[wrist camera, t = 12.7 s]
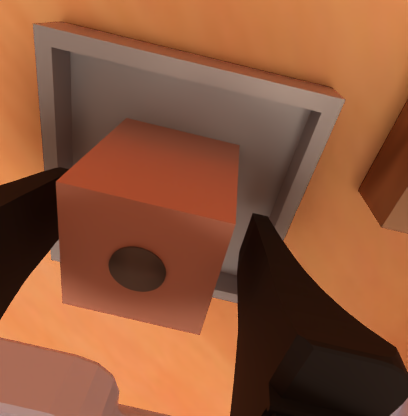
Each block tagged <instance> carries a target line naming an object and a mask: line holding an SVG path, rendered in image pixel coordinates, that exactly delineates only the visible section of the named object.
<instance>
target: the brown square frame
mask: <svg viewBox="0 0 408 416" xmlns="http://www.w3.org/2000/svg"><path fill="white" fill-rule="evenodd" d="M358 191H359V192H360V194H361V195H362V197H363V199H364V200H365V202H366V203H367V205H368V207H369V208H370V210H371V212H372V213H373V215H374V216H375V218H376V220H377V221H378V223H379V224H380V226H381V227H382V228H386V229H390V230H394V231H398V232H403V233H407V234H408V100H407V102H406V104H405V106H404V108H403V110H402V111H401V113H400V115H399V117H398V119H397V121H396V122H395V124H394V126H393V128H392V130H391V132H390V133H389V135H388V137H387V139H386V141H385V143H384V144H383V146H382V148H381V150H380V152H379V153H378V155H377V157H376V159H375V161H374V163H373V164H372V166H371V168H370V170H369V172H368V174H367V175H366V177H365V179H364V181H363V183H362V185H361V186H360V188H359V190H358Z"/></svg>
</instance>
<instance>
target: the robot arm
mask: <svg viewBox="0 0 408 416" xmlns="http://www.w3.org/2000/svg"><path fill="white" fill-rule="evenodd" d="M68 170H69V169H66V168H62V167H57V168H53V169H50V170H46V171H43V172H40V173H37V174H34V175H31V176H28V177H25V178H22V179H19V180H16V181H13V182H10V183H6V184H3V185H0V319H1V318H2V316H3V314H4V313H5V311H6V309H7V308H8V306H9V305H10V303H11V301H12V300H13V298H14V297H15V295H16V294H17V292H18V291H19V289H20V288H21V286H22V285H23V283H24V282H25V280H26V279H27V278H28V276H29V275H30V274H31V272H32V271H33V270H34V269H35V268H36V266H37V265H38V264H39V263H40V261H41V260H42V259H43V258H44V257H45V255H46V254H47V253H48V252H49V251H50V249H51V248H52V247H53V246H54V245H55V243H56V242H57V241H58V240H59V231H58V213H57V195H56V181H57V180H58V179H59V178H60V177H61V176H63V175H64V174H65V173H66V172H67V171H68ZM237 296H238V339H237V352H236V363H235V374H234V384H233V394H232V403H231V412H230V416H408V372H407V370H406V368H405V366H404V363H403V361H402V359H401V357H400V354H399V352H398V350H397V348H396V347H395V346H393V345H392V344H390V343H389V342H387V341H386V340H384V339H383V338H381V337H380V336H379V335H377V334H376V333H374V332H373V331H371V330H370V329H368V328H367V327H366V326H364V325H363V324H362V323H360V322H359V321H358V320H357V319H355V318H354V317H353V316H351V315H350V314H349V313H348V312H347V311H345V310H344V309H343V308H342V307H341V306H339V305H338V304H337V303H336V302H335V301H334V300H333V299H332V298H331V297H330V296H329V295H327V294H326V293H325V292H324V291H323V290H322V289H321V288H320V287H319V286H318V285H317V284H316V282H315V281H314V280H313V279H312V278H311V277H310V276H309V275H308V274H307V273H306V271H305V270H304V269H303V268H302V267H301V265H300V264H299V263H298V261H297V260H296V259H295V257H294V256H293V255H292V253H291V252H290V251H289V249H288V248H287V246H286V245H285V243H284V242H283V240H282V239H281V237H280V235H279V234H278V232H277V231H276V229H275V227H274V226H273V224H272V222H271V221H270V219H269V217H268V216H264V215H260V214H256V213H252V216H251V219H250V222H249V225H248V228H247V231H246V233H245V236H244V239H243V242H242V245H241V248H240V250H239V257H238V267H237ZM118 398H119V389H118V387H117V384H116V381H115V378H114V377H113V375H112V374H111V373H110V372H109V371H107V370H106V369H105V368H104V367H102V366H101V365H100V364H99V363H97V362H94V361H92V360H89V359H86V358H84V357H81V356H79V355H75V354H70V353H66V352H62V351H57V350H53V349H49V348H44V347H40V346H35V345H31V344H27V343H22V342H18V341H14V340H9V339H5V338H0V416H170V415H165V414H161V413H157V412H152V411H148V410H143V409H139V408H134V407H130V406H126V405H121V404H118Z"/></svg>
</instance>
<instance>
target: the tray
mask: <svg viewBox="0 0 408 416" xmlns="http://www.w3.org/2000/svg"><path fill="white" fill-rule="evenodd" d="M33 31H34V44H35V56H36V69H37V82H38V95H39V108H40V120H41V133H42V146H43V159H44V171H46V170H50V169H53V168H57V167H62V168H66V169H70V168H71V167H72V166H74V165H75V164H76V163H77V162H78V161H79V160H80V159H81V158H82V157H84V156H85V155H86V154H87V153H88V152H89V151H90V150H91V149H92V148H94V147H95V146H96V145H97V144H98V143H99V142H100V141H101V140H102V139H104V138H105V137H106V136H107V135H108V134H109V133H110V132H111V131H112V130H114V129H115V128H116V127H117V126H118V125H119V124H120V123H121V122H122V121H124V120H125V119H126V118H129V119H133V120H137V121H141V122H146V123H150V124H154V125H158V126H162V127H166V128H170V129H175V130H179V131H183V132H187V133H191V134H195V135H199V136H203V137H208V138H212V139H216V140H220V141H224V142H228V143H232V144H237V145H239V166H238V186H237V207H236V225H235V228H234V231H233V234H232V237H231V240H230V243H229V246H228V249H227V252H226V255H225V259H224V262H223V265H222V268H221V271H220V274H219V277H218V280H217V283H216V286H215V289H214V292H213V295H212V297H213V298H218V299H222V300H226V301H231V302H235V303H238V296H237V267H238V257H239V250H240V248H241V245H242V242H243V239H244V236H245V233H246V231H247V228H248V225H249V222H250V219H251V216H252V213H256V214H260V215H264V216H268V217H269V219H270V221H271V222H272V224H273V226H274V227H275V229H276V231H277V232H278V234H279V235H280V237H281V239H282V240H284V238H285V236H286V233H287V231H288V229H289V227H290V224H291V222H292V220H293V218H294V215H295V213H296V211H297V208H298V206H299V204H300V202H301V199H302V197H303V195H304V193H305V190H306V188H307V186H308V184H309V181H310V179H311V177H312V174H313V172H314V170H315V168H316V165H317V163H318V161H319V159H320V156H321V154H322V152H323V150H324V147H325V145H326V143H327V140H328V138H329V136H330V134H331V131H332V129H333V127H334V125H335V122H336V120H337V118H338V116H339V113H340V111H341V109H342V106H343V104H344V102H345V99H344V98H343V97H342V96H341V95H340V94H339V93H337V92H336V91H335V90H334V89H333V88H331V87H327V86H323V85H319V84H315V83H311V82H307V81H302V80H298V79H294V78H290V77H286V76H282V75H278V74H274V73H270V72H266V71H261V70H257V69H253V68H249V67H245V66H241V65H237V64H233V63H229V62H225V61H221V60H216V59H212V58H208V57H204V56H200V55H196V54H192V53H188V52H184V51H180V50H175V49H171V48H167V47H163V46H159V45H155V44H151V43H147V42H143V41H139V40H135V39H130V38H126V37H122V36H118V35H114V34H110V33H106V32H102V31H98V30H94V29H89V28H85V27H81V26H77V25H73V24H69V23H65V22H50V23H34V24H33ZM51 260H54V261H59V262H60V249H59V240H58V241H57V242H56V243H55V245H54V246H53V247H52V248H51Z"/></svg>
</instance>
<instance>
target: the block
mask: <svg viewBox="0 0 408 416" xmlns="http://www.w3.org/2000/svg"><path fill="white" fill-rule="evenodd" d="M238 166H239V145H237V144H232V143H228V142H224V141H220V140H216V139H212V138H208V137H203V136H199V135H195V134H191V133H187V132H183V131H179V130H175V129H170V128H166V127H162V126H158V125H154V124H150V123H146V122H141V121H137V120H133V119H129V118H126V119H125V120H124V121H122V122H121V123H120V124H119V125H118V126H117V127H116V128H115V129H114V130H112V131H111V132H110V133H109V134H108V135H107V136H106V137H105V138H104V139H102V140H101V141H100V142H99V143H98V144H97V145H96V146H95V147H94V148H92V149H91V150H90V151H89V152H88V153H87V154H86V155H85V156H84V157H82V158H81V159H80V160H79V161H78V162H77V163H76V164H75V165H74V166H72V167H71V168H70V169H69V170H68V171H67V172H66V173H65V174H64V175H63V176H61V177H60V178H59V179H58V180H57V181H56V195H57V213H58V231H59V249H60V267H61V285H62V303H64V304H68V305H72V306H77V307H81V308H85V309H90V310H94V311H98V312H103V313H107V314H111V315H116V316H120V317H124V318H128V319H133V320H137V321H141V322H146V323H150V324H154V325H159V326H163V327H167V328H172V329H176V330H180V331H185V332H189V333H193V334H197V335H200V332H201V329H202V326H203V323H204V320H205V317H206V314H207V311H208V308H209V305H210V302H211V299H212V295H213V292H214V289H215V286H216V283H217V280H218V277H219V274H220V271H221V268H222V265H223V262H224V259H225V255H226V252H227V249H228V246H229V243H230V240H231V237H232V234H233V231H234V228H235V225H236V207H237V186H238Z"/></svg>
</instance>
